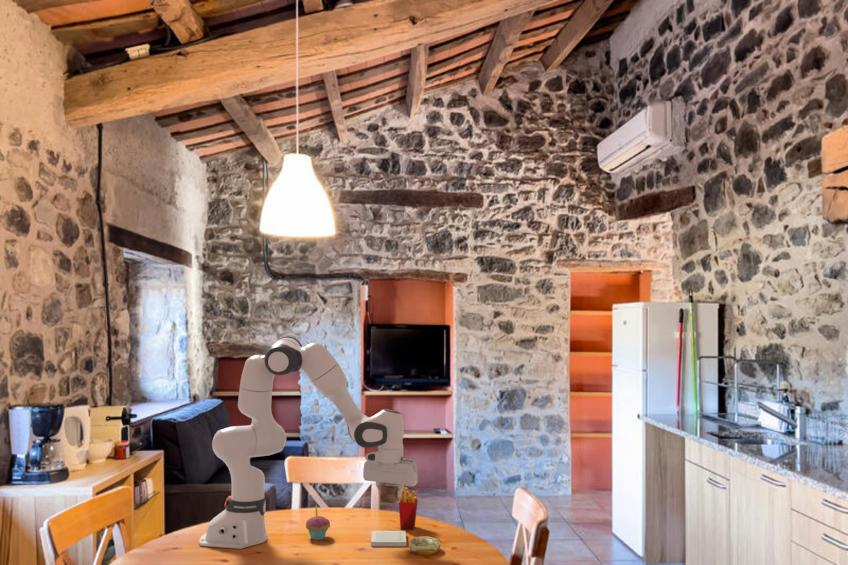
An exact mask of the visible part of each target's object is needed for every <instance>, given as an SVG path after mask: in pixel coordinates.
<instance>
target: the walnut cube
mask: <svg viewBox="0 0 848 565" xmlns="http://www.w3.org/2000/svg"><path fill="white" fill-rule="evenodd" d="M381 486H382V487H381V495H379V496H380V501H379V502H380V503H388V504H395V503H397V502H398V501H400V499H399V498H396V497H395V496H396V495H395V492H398V491H399V489H400V488H398V485H396V484H388V483H385V484H384V485H381Z"/></svg>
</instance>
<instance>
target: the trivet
mask: <svg viewBox="0 0 848 565" xmlns="http://www.w3.org/2000/svg"><path fill="white" fill-rule="evenodd" d="M406 531H407V530H372V531H371V536H370V537H371V538H370V547H407V533H406Z"/></svg>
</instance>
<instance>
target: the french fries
mask: <svg viewBox="0 0 848 565" xmlns="http://www.w3.org/2000/svg"><path fill="white" fill-rule="evenodd" d="M417 493H419V490H417V489H416V490H412V493H410V491H409V488H408V486H405V487H404V489H403V491H402V492H401V497H400V498H399V503H398V510H399V512H398V513H399V528H400V531H414V530H415V527H416V519H417V510H418V509H417V508H418V501H419V500H418V497H417V496H416V494H417Z"/></svg>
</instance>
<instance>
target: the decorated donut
mask: <svg viewBox="0 0 848 565" xmlns="http://www.w3.org/2000/svg"><path fill="white" fill-rule="evenodd" d="M408 546H409V549H410V551H412V553H413V554H416V555H418V556H426V557H428V556H433V555H436V554H437V553H438V552H439V551H440V548H441V541H439V539H437V538H435V537H431V536H415V537H413V538H411V539H410V540H409V541H408Z"/></svg>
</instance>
